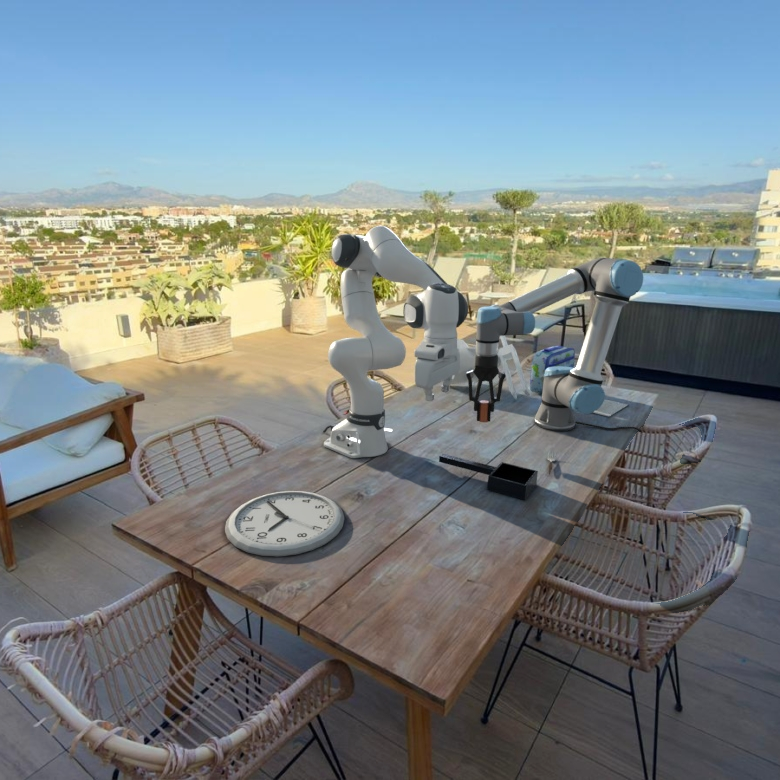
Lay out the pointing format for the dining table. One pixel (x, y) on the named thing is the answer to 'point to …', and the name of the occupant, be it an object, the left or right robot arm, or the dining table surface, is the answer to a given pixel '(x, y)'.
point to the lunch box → (549, 364)
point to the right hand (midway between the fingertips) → (483, 419)
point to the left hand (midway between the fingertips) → (437, 396)
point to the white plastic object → (503, 356)
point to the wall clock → (284, 523)
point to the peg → (483, 411)
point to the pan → (500, 476)
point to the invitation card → (609, 408)
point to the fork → (551, 460)
